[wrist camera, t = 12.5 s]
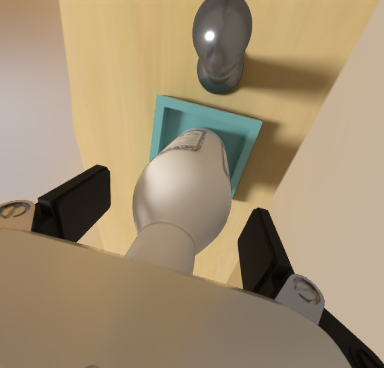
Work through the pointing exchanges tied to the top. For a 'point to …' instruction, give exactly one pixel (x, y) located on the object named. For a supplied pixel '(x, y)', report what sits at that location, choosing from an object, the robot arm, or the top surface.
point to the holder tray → (211, 119)
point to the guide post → (221, 42)
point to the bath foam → (181, 200)
